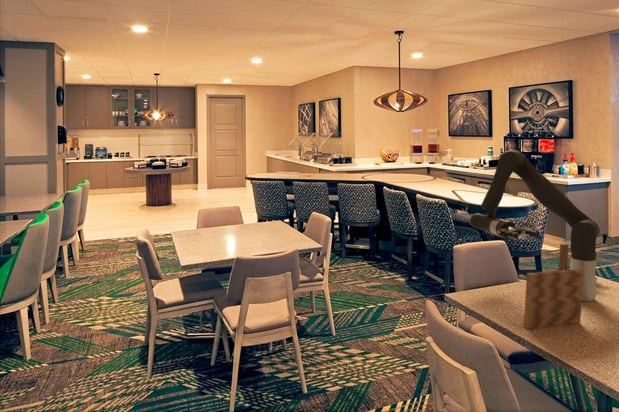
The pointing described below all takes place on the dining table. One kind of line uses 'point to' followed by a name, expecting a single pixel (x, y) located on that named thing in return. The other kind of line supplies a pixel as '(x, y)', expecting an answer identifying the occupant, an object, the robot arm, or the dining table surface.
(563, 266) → the wooden block
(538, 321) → the zigzag wooden panel
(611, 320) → the dining table surface
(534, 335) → the dining table surface
